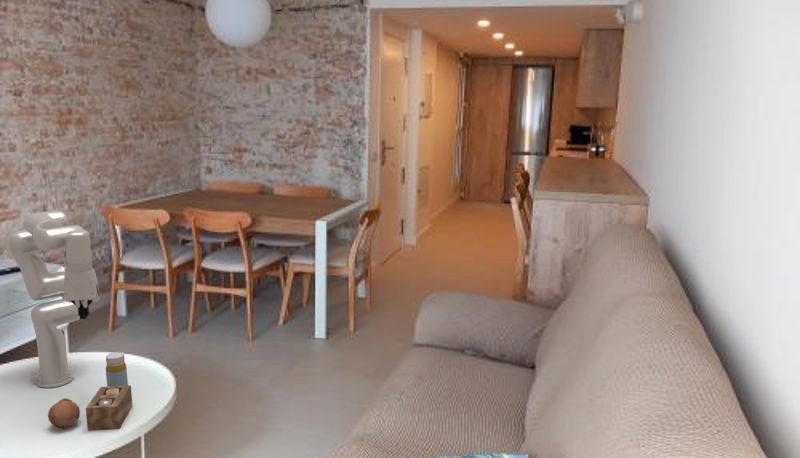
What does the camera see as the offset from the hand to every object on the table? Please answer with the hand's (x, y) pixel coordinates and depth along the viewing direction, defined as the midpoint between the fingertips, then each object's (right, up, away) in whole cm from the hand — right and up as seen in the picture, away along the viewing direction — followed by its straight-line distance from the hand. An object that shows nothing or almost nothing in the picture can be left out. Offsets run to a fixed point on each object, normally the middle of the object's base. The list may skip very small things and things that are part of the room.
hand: (84, 317), depth 223 cm
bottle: (+5, -31, +17) cm, 35 cm away
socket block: (+10, -34, -2) cm, 36 cm away
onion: (-3, -35, -7) cm, 36 cm away
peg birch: (+10, -33, +2) cm, 35 cm away
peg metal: (+11, -35, -6) cm, 37 cm away
